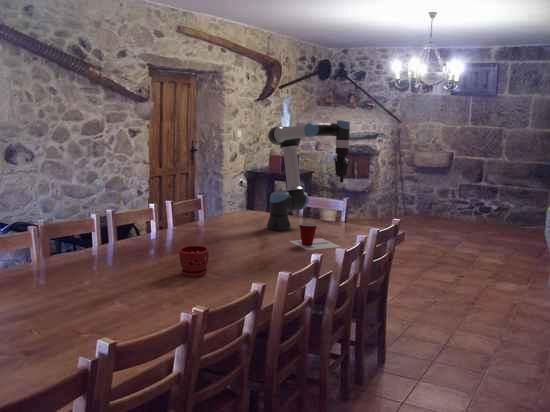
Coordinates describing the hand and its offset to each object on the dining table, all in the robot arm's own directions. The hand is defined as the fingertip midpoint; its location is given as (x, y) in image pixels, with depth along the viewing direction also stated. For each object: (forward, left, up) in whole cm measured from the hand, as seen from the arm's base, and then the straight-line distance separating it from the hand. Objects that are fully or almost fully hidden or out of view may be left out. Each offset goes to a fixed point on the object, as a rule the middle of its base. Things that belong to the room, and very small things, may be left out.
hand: (340, 187), depth 336 cm
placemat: (+9, -21, -30) cm, 38 cm away
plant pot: (+42, -103, -31) cm, 115 cm away
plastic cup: (+9, -26, -30) cm, 41 cm away
